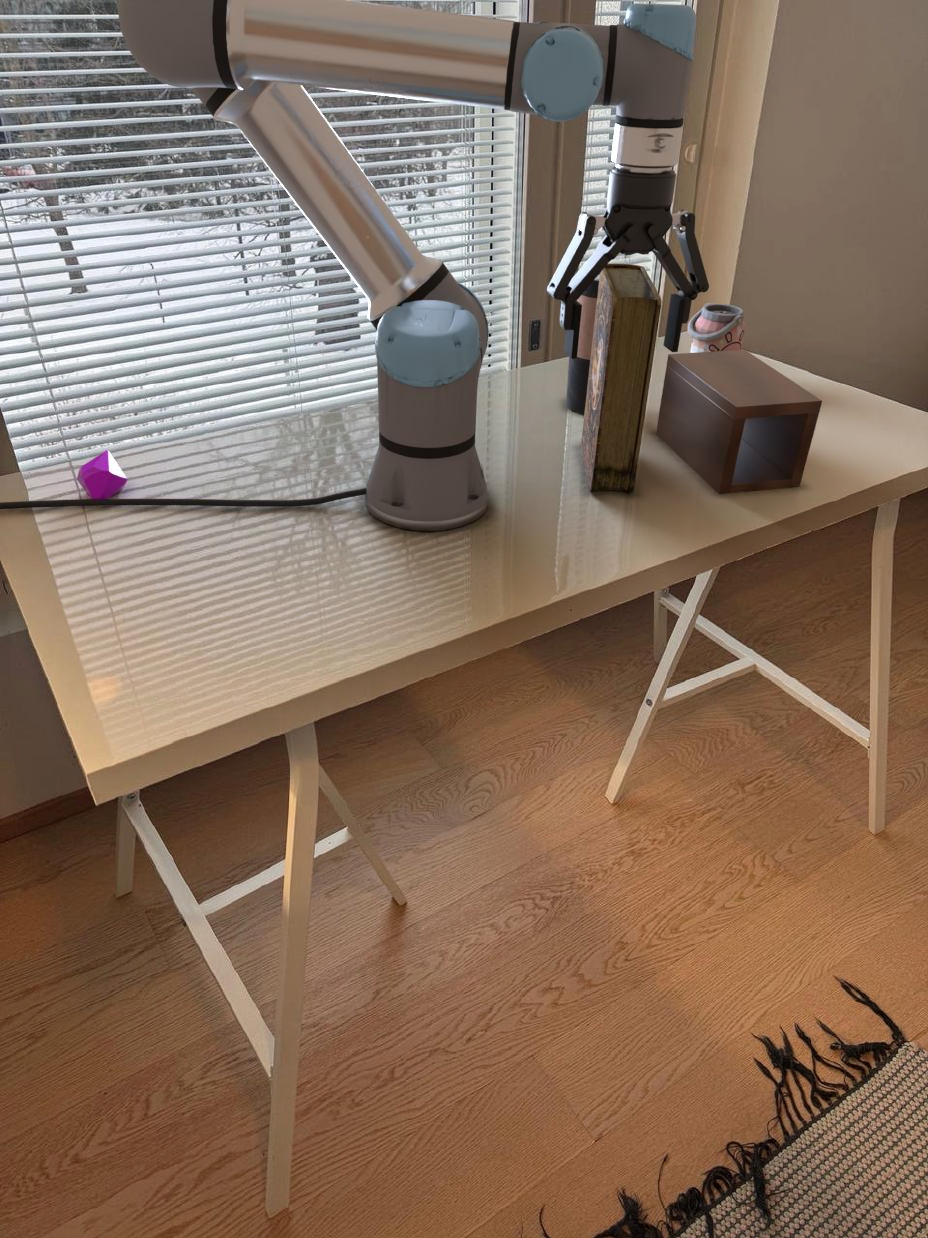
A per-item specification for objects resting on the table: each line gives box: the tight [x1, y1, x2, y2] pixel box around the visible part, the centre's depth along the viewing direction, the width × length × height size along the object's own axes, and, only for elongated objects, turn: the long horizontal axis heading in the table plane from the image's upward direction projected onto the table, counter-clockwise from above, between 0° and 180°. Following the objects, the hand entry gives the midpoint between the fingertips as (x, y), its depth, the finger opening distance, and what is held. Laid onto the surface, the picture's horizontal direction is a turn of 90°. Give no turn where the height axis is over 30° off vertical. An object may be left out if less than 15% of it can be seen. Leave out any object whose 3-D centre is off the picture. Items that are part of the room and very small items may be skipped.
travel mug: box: [565, 274, 600, 415], centre depth 139 cm, size 8×8×20 cm
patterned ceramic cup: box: [687, 302, 746, 353], centre depth 152 cm, size 9×8×12 cm
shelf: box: [655, 349, 823, 495], centre depth 126 cm, size 12×20×12 cm, turn 14°
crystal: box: [76, 449, 128, 507], centre depth 114 cm, size 5×5×5 cm
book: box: [580, 263, 662, 494], centre depth 119 cm, size 16×6×25 cm, turn 179°
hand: (621, 352), depth 116 cm, fingers open, 13 cm apart
